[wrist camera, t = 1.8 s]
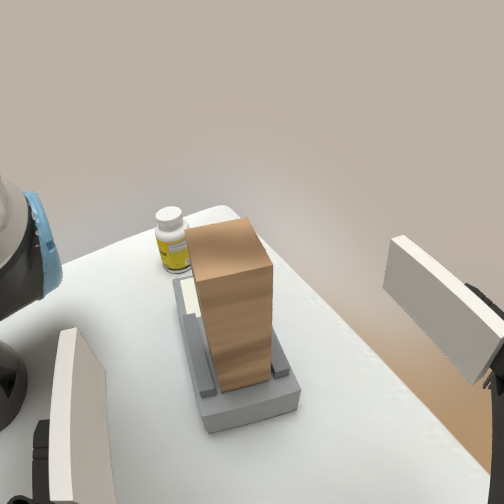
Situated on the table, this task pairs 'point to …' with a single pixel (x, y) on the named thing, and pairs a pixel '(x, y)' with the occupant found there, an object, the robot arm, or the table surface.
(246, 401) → the grey stand base
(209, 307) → the block
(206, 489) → the table surface
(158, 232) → the supplement bottle
